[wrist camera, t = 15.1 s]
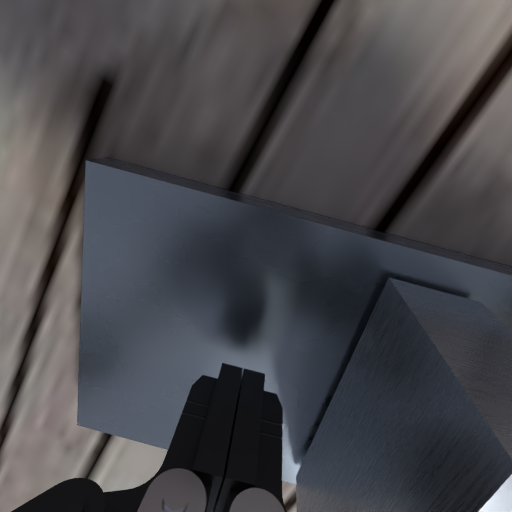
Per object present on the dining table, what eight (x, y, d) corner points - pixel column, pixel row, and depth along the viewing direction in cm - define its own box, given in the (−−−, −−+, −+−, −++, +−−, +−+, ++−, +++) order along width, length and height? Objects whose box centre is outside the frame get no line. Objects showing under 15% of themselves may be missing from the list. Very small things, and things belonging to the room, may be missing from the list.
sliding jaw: (296, 475, 14) (301, 787, 7) (389, 277, 10) (580, 560, 3) (362, 493, 14) (427, 822, 7) (481, 302, 10) (853, 635, 3)
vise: (92, 403, 15) (-59, 611, 9) (106, 157, 11) (-188, 199, 4) (523, 521, 15) (701, 818, 9) (721, 323, 11) (1415, 634, 4)
